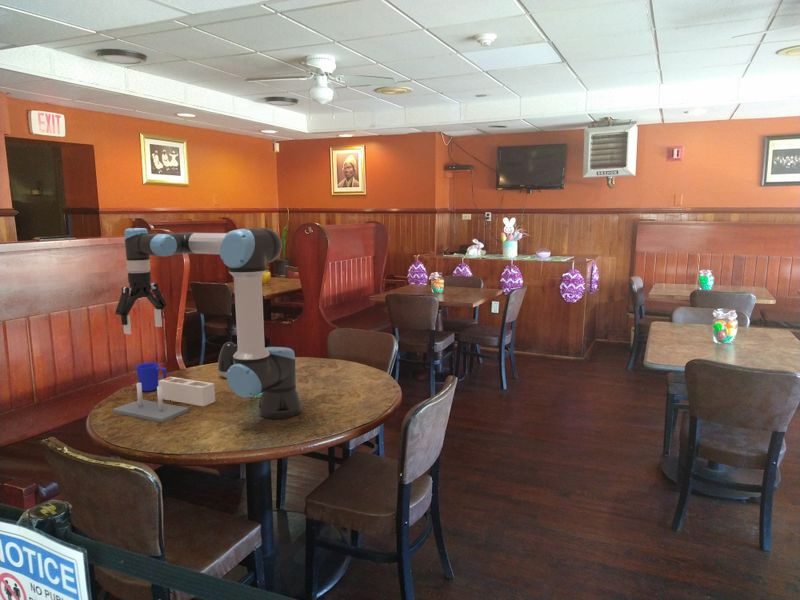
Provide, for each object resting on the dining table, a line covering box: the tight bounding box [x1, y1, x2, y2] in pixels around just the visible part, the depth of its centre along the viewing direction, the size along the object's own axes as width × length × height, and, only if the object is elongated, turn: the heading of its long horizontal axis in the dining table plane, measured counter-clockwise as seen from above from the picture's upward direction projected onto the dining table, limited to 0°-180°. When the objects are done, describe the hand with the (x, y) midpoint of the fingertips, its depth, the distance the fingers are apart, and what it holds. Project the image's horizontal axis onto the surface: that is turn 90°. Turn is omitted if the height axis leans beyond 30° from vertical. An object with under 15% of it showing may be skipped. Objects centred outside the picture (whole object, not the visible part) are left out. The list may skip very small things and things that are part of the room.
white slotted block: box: [158, 376, 216, 407], centre depth 215 cm, size 22×6×7 cm, turn 65°
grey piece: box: [112, 382, 190, 423], centre depth 202 cm, size 24×12×10 cm, turn 65°
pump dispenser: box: [217, 341, 238, 379], centre depth 245 cm, size 10×10×15 cm
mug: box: [135, 362, 167, 392], centre depth 228 cm, size 8×12×10 cm
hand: (143, 330), depth 207 cm, fingers open, 13 cm apart
